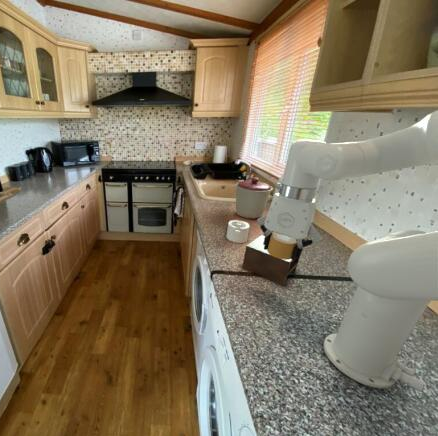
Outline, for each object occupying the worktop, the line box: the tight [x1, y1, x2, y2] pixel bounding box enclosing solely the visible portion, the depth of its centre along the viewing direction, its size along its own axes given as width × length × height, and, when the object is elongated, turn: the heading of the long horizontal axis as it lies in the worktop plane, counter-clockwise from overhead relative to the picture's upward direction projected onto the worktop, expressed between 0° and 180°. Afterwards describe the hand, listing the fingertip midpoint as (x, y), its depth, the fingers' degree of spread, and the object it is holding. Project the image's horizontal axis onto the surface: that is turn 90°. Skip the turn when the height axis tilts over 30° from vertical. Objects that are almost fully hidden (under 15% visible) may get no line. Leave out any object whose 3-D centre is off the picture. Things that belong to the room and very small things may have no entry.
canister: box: [235, 176, 274, 220], centre depth 129 cm, size 18×18×21 cm
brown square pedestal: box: [241, 234, 301, 287], centre depth 85 cm, size 14×12×9 cm
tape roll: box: [267, 232, 297, 259], centre depth 67 cm, size 7×7×5 cm
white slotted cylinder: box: [225, 219, 251, 244], centre depth 112 cm, size 20×9×7 cm, turn 157°
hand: (280, 252), depth 68 cm, fingers closed on tape roll, 6 cm apart
